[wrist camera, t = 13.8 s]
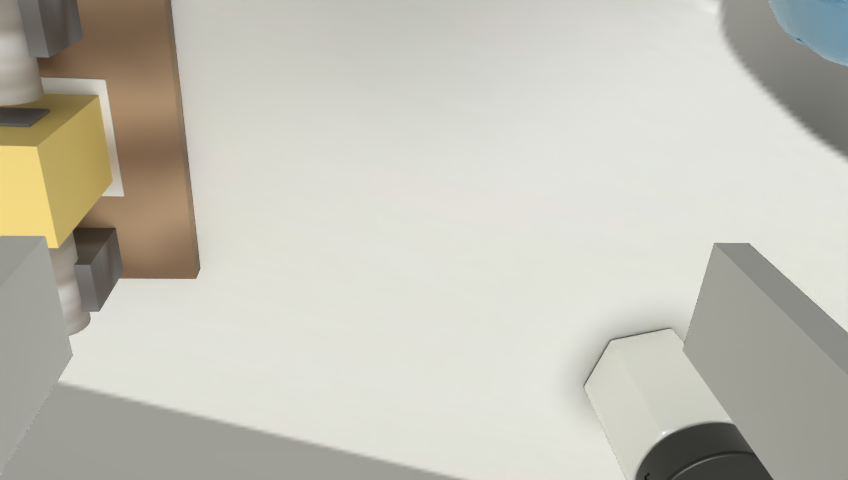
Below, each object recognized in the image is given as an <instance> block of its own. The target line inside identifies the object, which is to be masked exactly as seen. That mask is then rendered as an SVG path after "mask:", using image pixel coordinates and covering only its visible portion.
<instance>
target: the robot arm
mask: <svg viewBox="0 0 848 480" xmlns="http://www.w3.org/2000/svg"><path fill="white" fill-rule="evenodd" d="M768 1H769V3H770V6H771V9H772V11H773V13H774V15H775V17H776V19H777V21H778V22H779V24H780V25H781V27H782V28H783V29H784V30H785V32H786V33H787V34H788V35H789V36H790V37H791V38H792V39H793V40H795V41H796V42H799V43H801V44H803V45H805V46H808V47H810V48H811V49H812V50H813V51H814V52H815V53H818V54H819V55H820V56H822V57H823V58H825V59H827V60H830V61H832V62H835V63H838V64H842V65H845V66H848V0H768ZM682 351H683V352H684V353H685V355H686V356H687V358H688V359H689V361H690V362H691V363H692V365H693V366H694V368H695V369H696V370H697V372H698V373H699V375H700V376H701V378H702V379H703V380H704V382H705V383H706V385H707V386H708V387H709V389H710V390H711V392H712V393H713V395H714V396H715V397H716V399H717V400H718V402H719V403H720V404H721V406H722V407H723V409H724V410H725V412H726V413H727V414H728V416H729V417H730V419H731V420H732V421H733V423H734V424H735V426H736V427H737V429H738V430H739V431H740V433H741V434H742V436H743V437H744V439H745V440H746V441H747V443H748V444H749V446H750V447H751V448H752V450H753V451H754V453H755V454H756V456H757V457H758V458H759V460H760V461H761V463H762V464H763V465H764V467H765V468H766V470H767V471H768V473H769V474H770V475H771V477H772V478H773V480H848V333H847V332H846V331H845V330H844V329H843V328H842V327H841V326H840V325H839V324H837V323H836V322H835V321H834V320H833V319H832V318H831V317H830V316H829V315H827V314H826V313H825V312H824V311H823V310H822V309H821V308H820V307H819V306H818V305H816V304H815V303H814V302H813V301H812V300H811V299H810V298H809V297H808V296H807V295H805V294H804V293H803V292H802V291H801V290H800V289H799V288H798V287H797V286H795V285H794V284H793V283H792V282H791V281H790V280H789V279H788V278H787V277H786V276H784V275H783V274H782V273H781V272H780V271H779V270H778V269H777V268H776V267H775V266H773V265H772V264H771V263H770V262H769V261H768V260H767V259H766V258H765V257H763V256H762V255H761V254H760V253H759V252H758V251H757V250H756V249H755V248H754V247H752V246H751V245H750V244H749V243H714V245H713V249H712V252H711V255H710V259H709V262H708V266H707V269H706V272H705V276H704V279H703V282H702V286H701V289H700V293H699V296H698V299H697V303H696V306H695V309H694V313H693V316H692V320H691V323H690V326H689V330H688V333H687V336H686V340H685V343H684V347H683V350H682ZM72 356H73V354H72V350H71V346H70V341H69V337H68V332H67V328H66V324H65V319H64V315H63V311H62V306H61V302H60V297H59V293H58V289H57V284H56V280H55V276H54V271H53V267H52V262H51V258H50V254H49V249H48V245H47V241H46V236H1V237H0V476H1V474H2V472H3V470H4V469H5V467H6V466H7V463H8V462H9V461H10V459H11V457H12V456H13V454H14V452H15V451H16V449H17V447H18V446H19V444H20V442H21V441H22V439H23V437H24V435H25V434H26V432H27V431H28V429H29V427H30V426H31V424H32V422H33V421H34V419H35V417H36V416H37V414H38V412H39V411H40V409H41V407H42V406H43V404H44V402H45V401H46V399H47V397H48V396H49V394H50V392H51V391H52V389H53V387H54V386H55V384H56V382H57V381H58V379H59V377H60V376H61V374H62V372H63V371H64V369H65V367H66V366H67V364H68V362H69V361H70V359H71V357H72Z"/></svg>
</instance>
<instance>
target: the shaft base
mask: <svg viewBox="0 0 848 480" xmlns="http://www.w3.org/2000/svg"><path fill="white" fill-rule="evenodd" d="M44 93H45V94H72V95H99V99H100V105H101V111H102V117H103V123H104V129H105V135H106V142H107V148H108V154H109V160H110V166H111V172H112V178H113V182H112V183H111V185H110V186H109V187H108V188H107V189H106V191H105V192H104V193H103V194H102V196H101V197H100V198H99V199H98V200H97V202H96V203H95V204H94V205H93V207H92V208H91V209H90V210H89V211H88V213H87V214H86V215H85V216H84V218H83V219H82V220H81V221H80V222H79V224H78V225H77V226H76V227H75V229H74V230H73V231H72V232H71V233H70V235H69V236H68V237H67V238H66V240H65V241H64V242H63V243H62V244H61V246H60V247H59V248H48V249H49V254H50V258H51V262H52V267H53V271H54V276H55V280H56V284H57V289H58V293H59V297H60V302H61V306H62V311H63V315H64V319H65V324H66V328H67V332H68V336H70V335H73V334H76V333H78V332H80V331H81V330H83V329H84V328H85V327H87V326H88V324H89V323H90V320H91V319H90V313H89V312H99V311H100V309H101V308H102V306H103V304H104V303H105V301H106V299H107V298H108V296H109V294H110V293H111V291H112V289H113V288H114V286H115V284H116V283H117V281H118V279H119V278H147V279H196V278H197V275H198V273H199V271H200V263H199V254H198V245H197V236H196V227H195V218H194V209H193V200H192V191H191V182H190V173H189V164H188V155H187V146H186V137H185V128H184V119H183V110H182V101H181V92H180V82H179V73H178V64H177V55H176V46H175V37H174V28H173V19H172V10H171V1H170V0H0V105H17V104H24V103H29V102H33V101H36V100H39V99H41V98H43V97H44Z"/></svg>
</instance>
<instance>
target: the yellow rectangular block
mask: <svg viewBox="0 0 848 480" xmlns="http://www.w3.org/2000/svg"><path fill="white" fill-rule="evenodd" d="M112 182H113V178H112V172H111V166H110V160H109V154H108V148H107V142H106V135H105V129H104V123H103V117H102V111H101V105H100V99H99V95H72V94H45V93H44V97H43V98H41V99H39V100H36V101H33V102H29V103H24V104H17V105H0V237H1V236H46V241H47V245H48V248H59V247H60V246H61V244H62V243H63V242H64V241H65V240H66V238H67V237H68V236H69V235H70V233H71V232H72V231H73V230H74V229H75V227H76V226H77V225H78V224H79V222H80V221H81V220H82V219H83V218H84V216H85V215H86V214H87V213H88V211H89V210H90V209H91V208H92V207H93V205H94V204H95V203H96V202H97V200H98V199H99V198H100V197H101V196H102V194H103V193H104V192H105V191H106V189H107V188H108V187H109V186H110V185H111V183H112Z"/></svg>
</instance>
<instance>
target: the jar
mask: <svg viewBox="0 0 848 480" xmlns="http://www.w3.org/2000/svg"><path fill="white" fill-rule="evenodd" d="M683 347H684V343H683V341H682V340H681V339H680V338H679V337H678V335H677V334H676V333H675V332H674V331H673V330H672V329H665V330H661V331H656V332H651V333H646V334H641V335H636V336H631V337H626V338H621V339H616V340H612V341H610V343H609V344H608V346H607V348H606V350H605V351H604V353H603V355H602V356H601V358H600V360H599V362H598V363H597V365H596V367H595V369H594V370H593V372H592V374H591V375H590V377H589V379H588V381H587V382H586V384H585V386H584V389H585V392H586V394H587V396H588V398H589V400H590V402H591V405H592V407H593V409H594V411H595V413H596V416H597V418H598V420H599V422H600V424H601V426H602V429H603V431H604V433H605V435H606V437H607V440H608V442H609V444H610V446H611V448H612V451H613V453H614V455H615V457H616V459H617V461H618V464H619V466H620V468H621V470H622V472H623V475H624V477H625V479H626V480H773V478H772V477H771V475H770V474H769V473H768V471H767V470H766V468H765V467H764V465H763V464H762V463H761V461H760V460H759V458H758V457H757V456H756V454H755V453H754V451H753V450H752V448H751V447H750V446H749V444H748V443H747V441H746V440H745V439H744V437H743V436H742V434H741V433H740V431H739V430H738V429H737V427H736V426H735V424H734V423H733V421H732V420H731V419H730V417H729V416H728V414H727V413H726V412H725V410H724V409H723V407H722V406H721V404H720V403H719V402H718V400H717V399H716V397H715V396H714V395H713V393H712V392H711V390H710V389H709V387H708V386H707V385H706V383H705V382H704V380H703V379H702V378H701V376H700V375H699V373H698V372H697V370H696V369H695V368H694V366H693V365H692V363H691V362H690V361H689V359H688V358H687V356H686V355H685V353H684V352H683V351H682V350H683Z"/></svg>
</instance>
